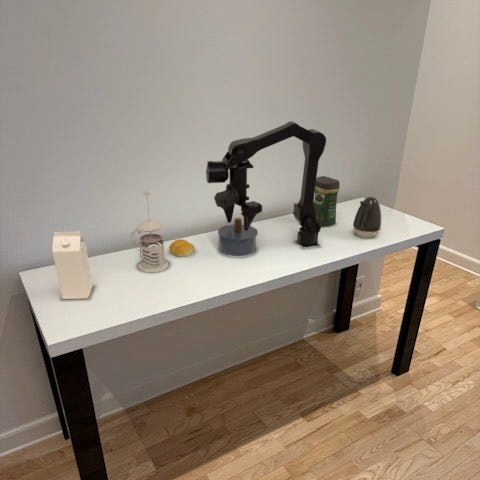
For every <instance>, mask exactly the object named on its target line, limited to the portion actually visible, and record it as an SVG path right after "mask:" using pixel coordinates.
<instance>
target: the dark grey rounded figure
mask: <svg viewBox="0 0 480 480" xmlns="http://www.w3.org/2000/svg"><path fill="white" fill-rule="evenodd" d="M359 204H360V205H359V207H358V209H357V211H356V214H355V215H354V218H353V223H352V226H353V231H354V233H355V235H357V236H359V237H361V238H363V239H370V238H374V237H376V236H377V235H378V234H379V231H380V230H381V228H382V211H381V210H382V209H381V206H380V202H379V200H378V199H377V198H376V197H374V196H367V197H366V198H364V199H363V200H359Z"/></svg>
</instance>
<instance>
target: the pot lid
mask: <svg viewBox="0 0 480 480" xmlns="http://www.w3.org/2000/svg"><path fill="white" fill-rule="evenodd" d="M258 231H259V230H258V228H257V229H256V228H255V227H254V226H251V225H250V227H249V229H248V230H247V231H245V230H244V224H242V218H240V217H236V218H234V224H227V225H223V226H221V227H219V228H218V230H217V235H218V237H219V236H221V237H222V238H224V239H228V240H235V241H242V240H249V239H252V238H254V237H256V238H257V236H258V234H259V232H258Z"/></svg>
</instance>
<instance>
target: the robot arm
mask: <svg viewBox="0 0 480 480" xmlns="http://www.w3.org/2000/svg"><path fill="white" fill-rule="evenodd" d="M293 137H294V138H296V139H298V140H300V141H302V150H303V155H304V164H303V172H302V180H301V190H300V198H299V200H298V202H296V203H294V202H293V212H292V215H293V217H294V219H295V220H296V221H297V222H298V225H299V226H300V227H299V228H298V231H297V237H296V240H295V241H296V243H297V244H298V245H300V246H301V247H302V248H311V247H318V246H320V244H319V243H318V240H319V233H320V231H321V229H322V225H319V224H318V223H317V222H316V214H315V207H314V198H315V185H316V179H317V177H318V170H319V169H318V168H319V161H320V159H321V158H322V155H323V154H324V151H325V148H326V145H327V137H326V136H325V134H324V133H322V132H321V131H319V130H317V129H314V128H310V129H307V128H305V127H303V126H301V125H299V124H298V123H296V122H295V121H288V122H287V123H285V124H282V125H280V126H277V127H275V128H273V129H270V130H268V131H266V132H263V133H260V134H258V135H256V136H253V137H246V138H239V139H236V140H233V141H231V142H230V143H229V145H228V149H227V152H226V153H225V155H224V156H223V157H222V160H218V161H217V160H216V161H213V160H207V161H206V169H205V178H206V183H207V184H219V183H222V184H223V183H226V181H228V180H229V183H227V184H226V186H225V189H224V190H222V191H218V192H216V194H215V195H214V197H213V198H214V199H213V200H214V202H215V204H216V206H217V207H218V208H221V209H222V210H223V212H224V215H225V218H226V222H227V223H228V224H231V223H232V220H233V215H234V210H235V205H236V206H239V207H240V211H241V212H240V215H241V216H242V217H243V225H244V230H245V231H247V230H248V229H249V227H250V226H251V225H252V223H253V221H254V220H255V217H256V216H257V215H259V214H260V213H262V212H263V205H262V204H261V203H260V202H257V201H255V200H252V201H249V200H250V196H248V192H247V191H248V189H250V184H249V183H248V169H254V167H255V166H254V165H253V164H252V163H251V162H250V160H249V159H251V158H253V157H254V156H255V155H256V154H257V153H258V152H260V151H261V150H264V149H266V148H268V147H271V146H274V145H275V144H278V143H280V142H283V141H285V140H287V139H290V138H293Z"/></svg>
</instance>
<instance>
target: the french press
mask: <svg viewBox="0 0 480 480" xmlns="http://www.w3.org/2000/svg"><path fill="white" fill-rule="evenodd" d="M150 195H151V193H150V191H149V190H144V191H143V196H146V203H147V205H146V206H149V199H148V198H149V197H148V196H150ZM149 208H150V207H147V214H148V217H150V209H149ZM163 227H164V225H163V223H161V222H159V221H158V220H155V219H154V220H152V219H150V218H148V220H143V221H141V222H139V223H138V224H137V225H136V229H134V230H133V231H132V232H131V234H130V242H131V244H132V247H133V248H134V249H135V250H137V251H138V252H139V257H140V263H139V264H138V266H137V267H138V269H139V270H140V271H142V272H144V273H145V272H146V273H158V272H161V271H162V272H163V271H164V270H166V269H168V267H169V262H167V261H166V258H165V244H164V240H163V236H162V235H160V234H157V233H154V232H157V231H160V230H162V229H163ZM136 231H137V234H141V233H142V232H144V233H147V234H143V235H141V236H140V237H139V238H138V239H139V242H138V244H137V242H136V240H135V238H132V236H133V237H135V234H136ZM148 233H149V234H148ZM133 241H134V242H133ZM134 244H135V245H136V246H137V247H138V248H137V247H136V246H135V245H134Z"/></svg>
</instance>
